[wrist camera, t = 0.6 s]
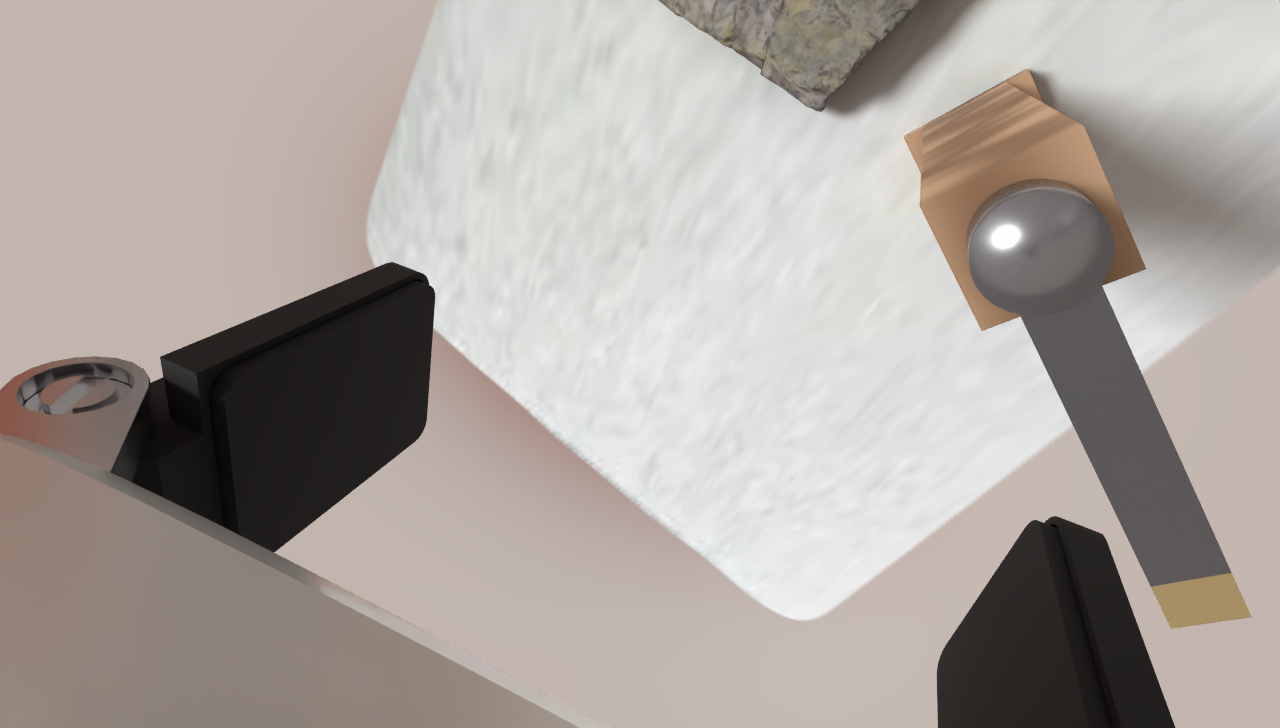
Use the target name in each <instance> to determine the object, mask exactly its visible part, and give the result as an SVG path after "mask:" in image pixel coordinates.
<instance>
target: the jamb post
mask: <svg viewBox="0 0 1280 728" xmlns="http://www.w3.org/2000/svg"><path fill="white" fill-rule="evenodd" d="M904 139H905V141H906V143H907V145H908V147H909V149H910V151H911V153H912V155H913V158H914V160H915V162H916V164H917V166H918V168H919V170H920V172H921V192H920V207H921V209H922V211H923V213H924V215H925V217H926V220H927V222H928V224H929V226H930V228H931V230H932V232H933V234H934V236H935V238H936V240H937V242H938V244H939V246H940V248H941V250H942V252H943V254H944V256H945V258H946V260H947V262H948V264H949V266H950V268H951V270H952V272H953V274H954V276H955V278H956V280H957V282H958V284H959V286H960V288H961V290H962V292H963V294H964V296H965V298H966V300H967V302H968V304H969V306H970V308H971V310H972V312H973V314H974V316H975V318H976V320H977V322H978V324H979V326H980V328H981V330H982V331H983V330H986V329H988V328H991V327H994V326H996V325H999V324H1002V323H1004V322H1007V321H1010V320H1012V319H1015V318H1017V317H1020V314H1016V313H1012V312H1009V311H1006V310H1003V309H1001V308H999V307H997V306H995V305H994V304H992V303H991V302H990V301H988V300H987V299H986V298H985V297H984V296H983V295H982V294H981V293H980V291H979V290H978V289H977V287H976V285H975V284H974V282H973V279H972V277H971V273H970V268H969V263H968V257H967V252H966V233H967V229H968V226H969V223H970V221H971V219H972V217H973V215H974V213H975V212H976V210H977V209H978V208H979V206H980V205H981V204H982V203H983V202H984V201H985V200H986V199H987V198H988V197H990V196H991V195H992V194H994V193H995V192H996V191H998V190H1000V189H1002V188H1003V187H1005V186H1008V185H1010V184H1013V183H1015V182H1019V181H1022V180H1028V179H1051V180H1057V181H1060V182H1063V183H1066V184H1068V185H1070V186H1072V187H1074V188H1075V189H1077V190H1078V191H1080V192H1081V193H1082V194H1083V195H1084V196H1085V197H1086V198H1087V199H1088V200H1089V201H1090V202H1091V203H1092V204H1093V205H1094V206H1095V207H1096V208H1097V209H1098V210H1099V211H1100V212H1101V213H1102V214H1103V216H1104V217H1105V218H1106V219H1107V221H1108V223H1109V225H1110V227H1111V230H1112V233H1113V237H1114V256H1113V261H1112V264H1111V267H1110V269H1109V271H1108V273H1107V275H1106V277H1105V278H1104V280H1103V281H1102V283H1101V285H1105V284H1108V283H1110V282H1113V281H1116V280H1118V279H1121V278H1123V277H1126V276H1129V275H1131V274H1134V273H1137V272H1139V271H1142V270H1145V269H1146V267H1145V265H1144V263H1143V260H1142V258H1141V256H1140V253H1139V251H1138V249H1137V247H1136V244H1135V242H1134V240H1133V237H1132V235H1131V233H1130V230H1129V228H1128V226H1127V224H1126V221H1125V219H1124V217H1123V214H1122V212H1121V210H1120V207H1119V205H1118V203H1117V201H1116V198H1115V196H1114V194H1113V191H1112V189H1111V187H1110V184H1109V182H1108V180H1107V178H1106V175H1105V173H1104V171H1103V168H1102V166H1101V164H1100V161H1099V159H1098V157H1097V155H1096V152H1095V150H1094V148H1093V145H1092V143H1091V141H1090V138H1089V136H1088V134H1087V132H1086V129H1085V127H1084V126H1083V125H1082V124H1080V123H1078V122H1076V121H1075V120H1073V119H1071V118H1069V117H1067V116H1066V115H1064V114H1062V113H1060V112H1059V111H1057V110H1055V109H1053V108H1051V107H1050V106H1048V105H1046V104H1044V103H1043V101H1042V98H1041V96H1040V94H1039V92H1038V89H1037V87H1036V85H1035V83H1034V80H1033V78H1032V76H1031V74H1030V71H1029V70H1028V69H1025V70H1024V71H1022V72H1020V73H1018V74H1016V75H1015V76H1013V77H1011V78H1009V79H1007V80H1005V81H1004V82H1002V83H1000V84H998V85H996V86H995V87H993V88H991V89H989V90H987V91H985V92H984V93H982V94H980V95H978V96H976V97H974V98H973V99H971V100H969V101H967V102H965V103H964V104H962V105H960V106H958V107H956V108H954V109H953V110H951V111H949V112H947V113H945V114H944V115H942V116H940V117H938V118H936V119H934V120H933V121H931V122H929V123H927V124H925V125H924V126H922V127H920V128H918V129H916V130H914V131H913V132H911V133H909V134H907V135H905V136H904Z"/></svg>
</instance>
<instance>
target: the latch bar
mask: <svg viewBox="0 0 1280 728" xmlns="http://www.w3.org/2000/svg"><path fill="white" fill-rule="evenodd" d="M966 252H967V257H968V263H969V268H970V273H971V277H972V279H973V282H974V284H975V285H976V287H977V289H978V290H979V291H980V293H981V294H982V295H983V296H984V297H985V298H986V299H987V300H988V301H990V302H991V303H992V304H994V305H995V306H997V307H999V308H1001V309H1003V310H1006V311H1009V312H1012V313H1016V314H1020V316H1021V318H1022V320H1023V322H1024V324H1025V326H1026V328H1027V331H1028V333H1029V335H1030V337H1031V339H1032V341H1033V343H1034V345H1035V347H1036V349H1037V351H1038V353H1039V355H1040V357H1041V360H1042V362H1043V364H1044V366H1045V368H1046V370H1047V372H1048V374H1049V376H1050V378H1051V380H1052V382H1053V384H1054V387H1055V389H1056V391H1057V393H1058V395H1059V397H1060V399H1061V401H1062V403H1063V405H1064V407H1065V409H1066V411H1067V414H1068V416H1069V418H1070V420H1071V422H1072V424H1073V426H1074V428H1075V430H1076V432H1077V434H1078V436H1079V438H1080V440H1081V443H1082V445H1083V447H1084V449H1085V451H1086V453H1087V455H1088V457H1089V459H1090V461H1091V463H1092V465H1093V467H1094V469H1095V472H1096V474H1097V476H1098V478H1099V480H1100V482H1101V484H1102V486H1103V488H1104V490H1105V492H1106V494H1107V496H1108V499H1109V500H1110V503H1111V505H1112V507H1113V509H1114V511H1115V513H1116V515H1117V517H1118V519H1119V521H1120V523H1121V526H1122V527H1123V530H1124V532H1125V534H1126V536H1127V538H1128V540H1129V542H1130V544H1131V546H1132V548H1133V550H1134V552H1135V555H1136V557H1137V558H1138V561H1139V563H1140V565H1141V567H1142V569H1143V571H1144V573H1145V575H1146V577H1147V579H1148V581H1149V583H1150V586H1151V588H1152V590H1153V592H1154V594H1155V596H1156V598H1157V600H1158V602H1159V604H1160V606H1161V608H1162V611H1163V612H1164V615H1165V617H1166V619H1167V621H1168V623H1169V625H1170V627H1171V628H1179V627H1186V626H1193V625H1200V624H1207V623H1214V622H1221V621H1228V620H1235V619H1242V618H1249V617H1251V615H1250V613H1249V611H1248V608H1247V606H1246V604H1245V602H1244V600H1243V597H1242V596H1241V593H1240V591H1239V589H1238V586H1237V584H1236V582H1235V580H1234V578H1233V575H1232V573H1231V571H1230V569H1229V566H1228V564H1227V562H1226V560H1225V557H1224V555H1223V553H1222V551H1221V549H1220V546H1219V544H1218V542H1217V540H1216V538H1215V535H1214V533H1213V531H1212V529H1211V526H1210V524H1209V522H1208V520H1207V518H1206V515H1205V513H1204V511H1203V509H1202V507H1201V504H1200V502H1199V500H1198V498H1197V495H1196V493H1195V491H1194V489H1193V487H1192V484H1191V482H1190V480H1189V478H1188V476H1187V473H1186V471H1185V469H1184V467H1183V465H1182V462H1181V460H1180V458H1179V456H1178V453H1177V451H1176V449H1175V447H1174V445H1173V442H1172V440H1171V438H1170V436H1169V434H1168V431H1167V429H1166V427H1165V424H1164V422H1163V420H1162V418H1161V416H1160V414H1159V411H1158V409H1157V407H1156V405H1155V402H1154V400H1153V398H1152V396H1151V394H1150V391H1149V389H1148V387H1147V385H1146V383H1145V380H1144V378H1143V376H1142V374H1141V371H1140V369H1139V367H1138V365H1137V362H1136V360H1135V358H1134V356H1133V354H1132V351H1131V349H1130V347H1129V345H1128V342H1127V340H1126V338H1125V336H1124V334H1123V331H1122V329H1121V327H1120V325H1119V323H1118V320H1117V318H1116V316H1115V314H1114V311H1113V309H1112V307H1111V305H1110V303H1109V300H1108V298H1107V296H1106V294H1105V292H1104V289H1103V287H1102V285H1101V283H1102V281H1103V280H1104V278H1105V277H1106V275H1107V273H1108V271H1109V269H1110V267H1111V264H1112V261H1113V256H1114V237H1113V233H1112V230H1111V227H1110V225H1109V223H1108V221H1107V219H1106V218H1105V217H1104V216H1103V214H1102V213H1101V212H1100V211H1099V210H1098V209H1097V208H1096V207H1095V206H1094V205H1093V204H1092V203H1091V202H1090V201H1089V200H1088V199H1087V198H1086V197H1085V196H1084V195H1083V194H1082V193H1081V192H1080V191H1078V190H1077V189H1075V188H1074V187H1072V186H1070V185H1068V184H1066V183H1063V182H1060V181H1057V180H1051V179H1028V180H1022V181H1019V182H1015V183H1013V184H1010V185H1008V186H1005V187H1003V188H1002V189H1000V190H998V191H996V192H995V193H994V194H992V195H991V196H990V197H988V198H987V199H986V200H985V201H984V202H983V203H982V204H981V205H980V206H979V208H978V209H977V210H976V212H975V213H974V215H973V217H972V219H971V221H970V223H969V226H968V229H967V233H966Z"/></svg>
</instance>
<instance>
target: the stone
mask: <svg viewBox="0 0 1280 728" xmlns="http://www.w3.org/2000/svg"><path fill="white" fill-rule="evenodd" d="M659 1H660V2H662V3H663V4H664V5H665V6H666V7H668V8H669V9H670V10H671V11H672V12H674V13H675V14H676V15H677V16H681V17H684V18H685V19H686V20H688V21H689V22H690V23H691V24H693V25H694V26H695V27H696V28H698V29H699V30H701V31H703V32H705V33H707V34H709V35H710V36H712V37H713V38H715V39H716V40H717V41H718V42H720V43H721V44H722V45H724V46H726V47H729V48H732V49H734V50H735V51H736V52H737V53H739V54H740V55H742V56H744V57H745V58H746V59H748V60H749V61H750V62H752V63H753V64H755V65H756V66H757V67H759V68H760V69H761V75H762V76H764V77H765V78H767V79H768V80H770V81H771V82H773V83H775V84H777V85H778V86H780V87H781V88H783V89H784V90H786V91H787V92H788V93H789V94H791V95H792V96H793V97H795V98H796V99H798V100H799V101H800V102H802V103H803V104H804V105H805V106H807V107H809V108H812V109H814V110H816V111H820V112H822V111H823V110H824V108H825V102H826V99H827V97H828V96H829V95H830V94H831V93H833V92H834V91H836V90H837V89H838V88H840V87H841V86H842V84H843V83H844V82H845V80H846V79H847V77H848V76H849V75H850V74H851V73H852V72H853V71H855V70H856V68H857V67H858V66H859V65H860V64H861V63H862V61H863V59H864V58H865V57H866V55H867V54H868V53H869V52H870V51H871V50H872V48H873V47H874V46H875V45H876V44H877V43H879V42H880V41H882V40H883V39H884V38H885V37H886V36H887V35H888V34H889V33H890V32H891V31H892V30H894V29H895V28H896V27H897V26H898V25H899V24H900V23H901V22H902V21H903V20H904V19H905V18H906V17H907V16H908V15H909V13H910V12H911V11H912V10H913V9H914V8H915V7H916V5H917V4H918V3H919V2H920V1H921V0H659Z"/></svg>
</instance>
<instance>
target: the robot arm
mask: <svg viewBox="0 0 1280 728" xmlns="http://www.w3.org/2000/svg"><path fill="white" fill-rule="evenodd" d="M434 306H435V292H434V289H433V288H432V287H431V286H429V282H428V279H427V277H426V276H425V275H424V274H422V273H420V272H417V271H414V270H412V269H409V268H407V267H404V266H401V265H399V264H396V263H393V262H391V263H386V264H384V265H381V266H379V267H377V268H374V269H372V270H369V271H367V272H365V273H362V274H360V275H357V276H355V277H352V278H350V279H348V280H345V281H343V282H341V283H338V284H335V285H333V286H331V287H328V288H326V289H323V290H321V291H318V292H316V293H314V294H311V295H309V296H307V297H304V298H302V299H299V300H297V301H294V302H292V303H290V304H287V305H285V306H282V307H280V308H278V309H275V310H273V311H270V312H268V313H265V314H263V315H260V316H258V317H256V318H253V319H251V320H249V321H246V322H244V323H241V324H239V325H236V326H234V327H231V328H229V329H227V330H224V331H222V332H219V333H217V334H215V335H212V336H210V337H207V338H205V339H202V340H200V341H198V342H195V343H193V344H190V345H188V346H186V347H183V348H181V349H178V350H176V351H173V352H171V353H169V354H166V355H164V356H161V357H160V359H161V365H162V371H163V378H161V379H159V380H156V381H154V382H152V383H150V378H149V376H148V375H147V373H146V371H145V370H144V369H143V368H141V367H140V366H138V365H136V364H135V363H133V362H129V361H126V360H121V359H118V358H110V357H97V356H94V357H76V358H69V359H63V360H58V361H52V362H49V363H46V364H43V365H40V366H37V367H33V368H31V369H29V370H27V371H25V372H23V373H21V374H19V375H17V376H15V377H14V378H12V379H11V380H10V381H9V382H8V383H7V384H6V385H5V386H4V387H2V389H1V390H0V728H614V727H612V726H610V725H608V724H606V723H604V722H602V721H600V720H598V719H596V718H594V717H592V716H590V715H588V714H586V713H585V712H583V711H581V710H579V709H577V708H575V707H573V706H571V705H569V704H567V703H565V702H563V701H562V700H560V699H558V698H556V697H554V696H552V695H550V694H548V693H546V692H544V691H542V690H540V689H538V688H536V687H534V686H532V685H531V684H529V683H527V682H525V681H523V680H521V679H519V678H517V677H515V676H513V675H511V674H509V673H507V672H505V671H504V670H502V669H499V668H498V667H496V666H494V665H492V664H490V663H488V662H486V661H484V660H482V659H480V658H478V657H476V656H474V655H473V654H471V653H469V652H467V651H465V650H463V649H461V648H459V647H457V646H455V645H453V644H451V643H449V642H447V641H445V640H443V639H441V638H440V637H438V636H436V635H434V634H432V633H430V632H428V631H426V630H424V629H422V628H420V627H418V626H416V625H414V624H412V623H410V622H409V621H406V620H405V619H403V618H400V617H399V616H397V615H395V614H393V613H391V612H389V611H387V610H385V609H383V608H381V607H379V606H377V605H375V604H373V603H372V602H370V601H367V600H366V599H364V598H362V597H360V596H358V595H356V594H354V593H352V592H350V591H348V590H346V589H344V588H342V587H340V586H338V585H336V584H334V583H332V582H330V581H328V580H326V579H324V578H322V577H320V576H318V575H317V574H315V573H313V572H311V571H309V570H307V569H305V568H303V567H301V566H299V565H297V564H295V563H293V562H291V561H289V560H287V559H285V558H283V557H281V556H279V555H277V554H275V553H274V552H275V551H277V550H278V549H279V548H280V547H282V546H283V545H284V544H285V543H287V542H288V541H289V540H290V539H292V538H293V537H294V536H296V535H297V534H298V533H300V532H301V531H302V530H303V529H305V528H306V527H307V526H308V525H310V524H311V523H312V522H313V521H315V520H316V519H317V518H318V517H320V516H321V515H322V514H324V513H325V512H326V511H327V510H329V509H330V508H331V507H333V506H334V505H335V504H336V503H338V502H339V501H340V500H341V499H343V498H344V497H345V496H346V495H348V494H349V493H350V492H352V491H353V490H354V489H355V488H357V487H358V486H359V485H360V484H362V483H363V482H364V481H365V480H367V479H368V478H369V477H371V476H372V475H373V474H374V473H376V472H377V471H378V470H380V468H382V467H383V466H385V465H386V464H387V463H388V462H390V461H391V460H392V459H394V458H395V457H396V456H397V455H399V454H400V453H401V452H402V451H403V450H405V449H406V448H407V447H409V446H410V445H411V444H413V443H414V442H415V441H416V440H417V439H418V438H419V437H420V435H421V434H422V432H423V430H424V428H425V425H426V420H427V408H428V393H429V378H430V364H431V348H432V335H433V321H434ZM937 699H938V700H937V701H938V728H1175V726H1174V723H1173V720H1172V718H1171V715H1170V712H1169V709H1168V707H1167V704H1166V701H1165V699H1164V696H1163V693H1162V690H1161V688H1160V685H1159V682H1158V679H1157V677H1156V674H1155V671H1154V669H1153V666H1152V663H1151V660H1150V658H1149V655H1148V652H1147V649H1146V647H1145V644H1144V641H1143V638H1142V636H1141V633H1140V630H1139V628H1138V625H1137V622H1136V619H1135V617H1134V614H1133V611H1132V609H1131V606H1130V603H1129V601H1128V598H1127V595H1126V592H1125V590H1124V587H1123V584H1122V582H1121V579H1120V576H1119V573H1118V570H1117V568H1116V565H1115V562H1114V560H1113V557H1112V555H1111V551H1110V549H1109V546H1108V543H1107V541H1106V539H1105V537H1104V536H1103V534H1101V533H1098V532H1096V531H1093V530H1091V529H1088V528H1086V527H1083V526H1080V525H1077V524H1075V523H1072V522H1070V521H1067V520H1065V519H1062V518H1059V517H1056V516H1054V517H1051V518H1049V519H1048V520H1046V522H1045V523H1042V522H1039V521H1037V520H1033V521H1031V522H1030V523H1029V524H1028V525H1027V526H1026V528H1025V529H1024V530H1023V532H1022V533H1021V535H1020V536H1019V538H1018V539H1017V541H1016V542H1015V544H1014V545H1013V547H1012V548H1011V550H1010V551H1009V553H1008V554H1007V556H1006V557H1005V559H1004V560H1003V561H1002V563H1001V564H1000V566H999V567H998V569H997V570H996V572H995V573H994V575H993V576H992V578H991V579H990V581H989V582H988V584H987V585H986V587H985V588H984V590H983V591H982V593H981V594H980V595H979V597H978V598H977V600H976V602H975V603H974V604H973V606H972V607H971V609H970V610H969V612H968V613H967V615H966V616H965V618H964V619H963V621H962V622H961V624H960V625H959V627H958V628H957V630H956V631H955V633H954V634H953V635H952V637H951V639H950V640H949V641H948V643H947V644H946V646H945V648H944V650H943V651H942V654H941V656H940V659H939V663H938V669H937Z"/></svg>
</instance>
